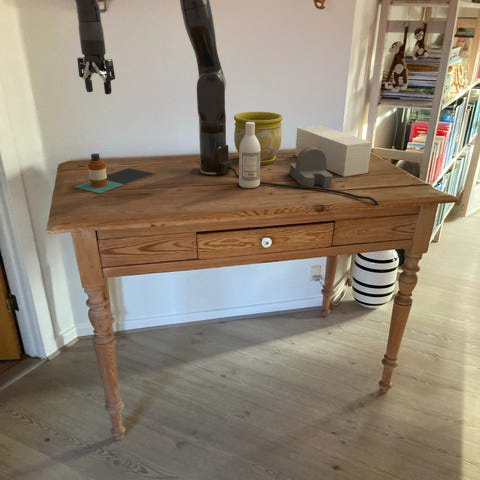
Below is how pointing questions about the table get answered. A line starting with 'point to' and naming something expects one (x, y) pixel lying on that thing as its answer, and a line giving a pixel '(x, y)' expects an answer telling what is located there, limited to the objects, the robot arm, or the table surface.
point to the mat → (115, 180)
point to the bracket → (311, 168)
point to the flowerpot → (261, 132)
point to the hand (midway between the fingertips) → (98, 93)
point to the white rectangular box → (336, 149)
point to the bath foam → (249, 158)
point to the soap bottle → (97, 171)
